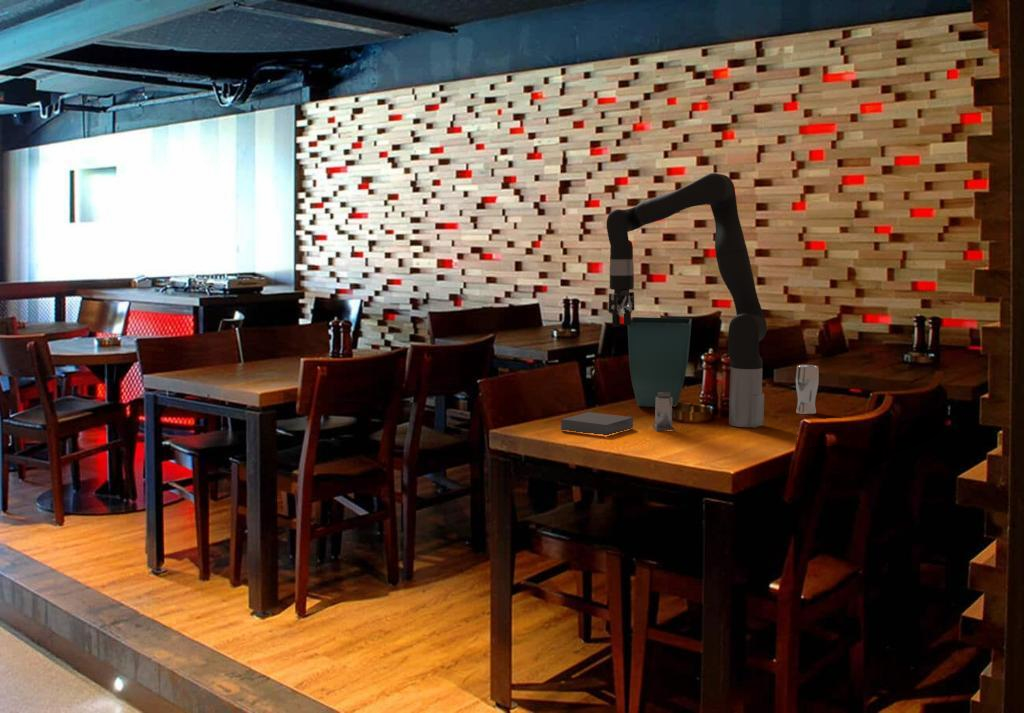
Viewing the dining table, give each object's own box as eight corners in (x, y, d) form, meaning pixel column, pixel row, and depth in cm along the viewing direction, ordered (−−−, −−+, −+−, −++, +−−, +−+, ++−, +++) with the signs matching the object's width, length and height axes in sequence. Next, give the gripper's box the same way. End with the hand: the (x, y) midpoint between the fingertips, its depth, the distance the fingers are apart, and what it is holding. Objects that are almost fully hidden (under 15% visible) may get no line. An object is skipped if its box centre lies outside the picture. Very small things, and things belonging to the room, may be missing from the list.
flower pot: (688, 410, 327) (690, 322, 324) (625, 408, 331) (627, 321, 328) (689, 401, 347) (691, 318, 343) (631, 399, 351) (632, 317, 347)
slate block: (632, 430, 296) (633, 417, 295) (606, 439, 283) (606, 424, 283) (588, 425, 304) (588, 412, 304) (561, 433, 292) (561, 419, 292)
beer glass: (815, 411, 327) (816, 364, 325) (819, 414, 320) (821, 367, 319) (792, 410, 328) (794, 364, 326) (796, 414, 321) (798, 367, 319)
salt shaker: (673, 431, 292) (674, 393, 291) (656, 431, 292) (657, 393, 291) (669, 428, 297) (670, 390, 296) (652, 428, 297) (653, 391, 296)
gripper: (623, 274, 311) (623, 327, 312) (641, 273, 323) (641, 324, 324) (600, 274, 314) (601, 327, 316) (620, 273, 327) (620, 324, 328)
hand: (621, 325), depth 320 cm, fingers open, 8 cm apart
